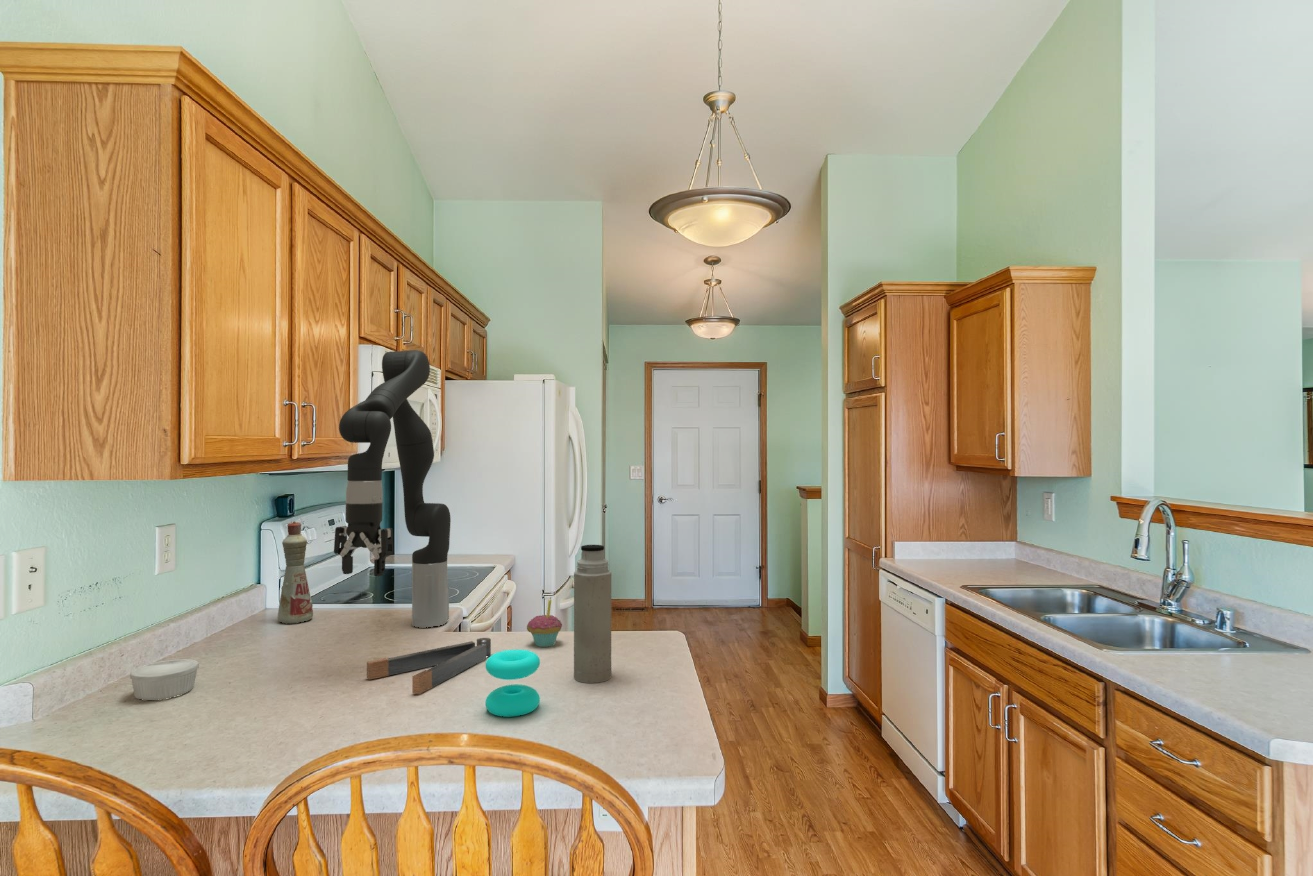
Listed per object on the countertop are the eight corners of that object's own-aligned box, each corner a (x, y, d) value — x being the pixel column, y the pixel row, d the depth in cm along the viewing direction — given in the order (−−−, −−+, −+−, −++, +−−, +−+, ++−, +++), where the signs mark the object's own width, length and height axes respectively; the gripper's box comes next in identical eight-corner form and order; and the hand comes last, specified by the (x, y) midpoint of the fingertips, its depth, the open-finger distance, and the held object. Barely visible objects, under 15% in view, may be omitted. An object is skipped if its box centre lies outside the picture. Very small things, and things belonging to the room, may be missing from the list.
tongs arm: (471, 654, 162) (471, 640, 162) (475, 656, 161) (475, 641, 161) (366, 677, 146) (366, 661, 146) (369, 679, 145) (369, 663, 145)
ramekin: (192, 680, 146) (192, 654, 146) (204, 693, 138) (204, 667, 138) (125, 693, 138) (125, 666, 138) (134, 708, 130) (134, 680, 130)
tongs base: (481, 653, 164) (481, 637, 164) (494, 654, 162) (494, 638, 162) (404, 693, 137) (404, 674, 137) (419, 695, 136) (419, 676, 136)
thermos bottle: (594, 668, 153) (594, 541, 153) (619, 676, 147) (619, 545, 148) (566, 677, 147) (566, 545, 147) (591, 686, 142) (591, 549, 142)
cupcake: (568, 642, 172) (568, 594, 172) (546, 651, 165) (546, 601, 165) (542, 637, 177) (543, 590, 177) (519, 645, 170) (519, 597, 170)
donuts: (478, 652, 131) (528, 644, 137) (478, 705, 131) (528, 695, 136) (496, 667, 123) (548, 658, 128) (495, 723, 123) (548, 712, 128)
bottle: (290, 616, 198) (290, 519, 199) (319, 617, 198) (320, 519, 198) (270, 624, 190) (270, 522, 190) (301, 625, 189) (301, 523, 189)
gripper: (402, 501, 154) (401, 574, 153) (351, 499, 159) (350, 570, 158) (378, 503, 147) (377, 579, 146) (325, 501, 152) (324, 575, 151)
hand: (363, 574), depth 152 cm, fingers open, 8 cm apart
